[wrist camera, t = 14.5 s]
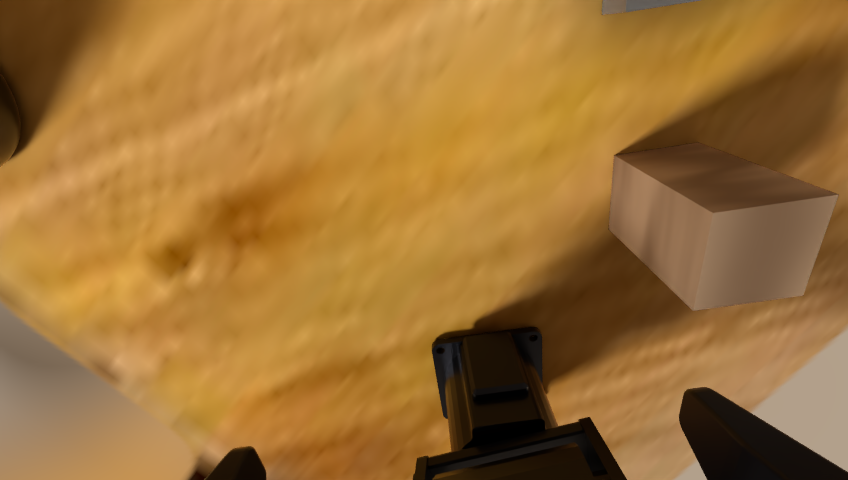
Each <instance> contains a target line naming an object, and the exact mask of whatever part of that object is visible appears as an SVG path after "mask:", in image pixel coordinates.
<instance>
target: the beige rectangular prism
mask: <svg viewBox="0 0 848 480" xmlns="http://www.w3.org/2000/svg"><path fill="white" fill-rule="evenodd" d="M838 196H839V195H838V194H836V193H833V192H830V191H828V190H825V189H822V188H820V187H817V186H814V185H812V184H809V183H806V182H803V181H801V180H798V179H795V178H793V177H790V176H787V175H785V174H782V173H779V172H776V171H774V170H771V169H768V168H766V167H763V166H760V165H758V164H755V163H752V162H750V161H747V160H744V159H741V158H739V157H736V156H733V155H731V154H728V153H725V152H723V151H720V150H717V149H714V148H712V147H709V146H706V145H704V144H701V143H691V144H685V145H678V146H672V147H665V148H658V149H652V150H645V151H639V152H632V153H626V154H619V155H614V163H613V176H612V190H611V203H610V217H609V230H610V231H611V232H612V233H613V234H614V235H615V236H616V237H617V238H618V239H619V240H620V241H621V242H622V243H623V244H624V245H625V246H626V247H627V248H628V249H630V250H631V251H632V252H633V253H634V254H635V255H636V256H637V257H638V258H639V259H640V260H641V261H642V262H643V263H644V264H645V265H646V266H647V267H648V268H649V269H650V270H651V271H652V272H653V273H654V274H655V275H656V276H657V277H658V278H660V279H661V280H662V281H663V282H664V283H665V284H666V285H667V286H668V287H669V288H670V289H671V290H672V291H673V292H674V293H675V294H676V295H677V296H678V297H679V298H680V299H681V300H682V301H683V302H684V303H685V304H686V305H687V306H688V307H690V308H691V309H692V310H693V311H696V310H703V309H711V308H718V307H725V306H732V305H739V304H747V303H754V302H761V301H768V300H775V299H783V298H790V297H797V296H803V294H804V291H805V289H806V286H807V283H808V280H809V277H810V275H811V272H812V269H813V266H814V263H815V260H816V258H817V255H818V252H819V249H820V246H821V244H822V241H823V238H824V235H825V232H826V229H827V227H828V224H829V221H830V218H831V215H832V213H833V210H834V207H835V204H836V201H837V199H838Z"/></svg>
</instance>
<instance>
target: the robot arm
mask: <svg viewBox="0 0 848 480" xmlns="http://www.w3.org/2000/svg"><path fill="white" fill-rule="evenodd" d="M531 335H535V336H533V337H530V336H531ZM440 347H441V348H443V349H438V348H440ZM432 354H433V360H434V365H435V371H436V377H437V383H438V388H439V394H440V400H441V405H442V411H443V416H444V417H445V418H446V419H448V423H449V433H450V442H451V452H449V453H445V454H440V455H436V456H432V457H428V456H423V457H419V458H417V462H416V470H415V474H414V475H413V480H627V479H626V477H625V476H624V474H623V472H622V470H621V469H620V467H619V465H618V464H617V462H616V460H615V459H614V457H613V455H612V454H611V452H610V450H609V449H608V447H607V445H606V444H605V442H604V440H603V439H602V437H601V435H600V433H599V432H598V430H597V428H596V427H595V425H594V423H593V422H592V420H591V418H590V417H587V418H583V419H579V420H578V421H579V422H575V423H571V424H566V425H562V426H558V425H557V422H556V419H555V417H554V414H553V412H552V409H551V406H550V404H549V401H548V399H547V396H546V393H545V391H544V388H543V386H542V335H541V333H540V331H539V329H538V328H536V327H528V328H521V329H514V330H506V331H499V332H492V333H484V334H477V335H470V336H462V337H455V338H448V339H440V340H436V341H435V342H433V344H432ZM679 421H680V425H681V428H682V430H683V432H684V434H685V436H686V438H687V440H688V442H689V444H690V446H691V448H692V450H693V452H694V454H695V456H696V458H697V460H698V462H699V464H700V466H701V468H702V470H703V472H704V474H705V476H706V478H707V480H848V472H847V471H845V470H843V469H842V468H840V467H839V466H837V465H835V464H834V463H832V462H830V461H829V460H827V459H825V458H824V457H822V456H821V455H819V454H817V453H815V452H814V451H812V450H811V449H809V448H807V447H806V446H804V445H802V444H801V443H799V442H798V441H796V440H794V439H793V438H791V437H789V436H788V435H786V434H784V433H783V432H781V431H779V430H778V429H776V428H775V427H773V426H771V425H770V424H768V423H766V422H765V421H763V420H761V419H760V418H758V417H757V416H755V415H753V414H752V413H750V412H748V411H747V410H745V409H743V408H742V407H740V406H738V405H737V404H735V403H734V402H732V401H730V400H729V399H727V398H725V397H724V396H722V395H720V394H719V393H717V392H716V391H714V390H712V389H710V388H707V387H700V388H693V389H687V390H686V391H685V392H684V395H683V400H682V404H681V409H680V414H679ZM204 480H266V470H265V468H264V466H263V464H262V462H261V460H260V458H259V456H258V454H257V452H256V450H255V449H254V448H253V447H251V446H247V447H239V448H234V449H232V450H231V451H230V452H229V453H228V454H227V455H226V456H225V457H224V458H223V459H222V460H221V461H220V463H219V464H218V465H217V466H216V467H215V468H214V469H213V470H212V472H211V473H210V474H209V475H208V476H207V477H206V478H205V479H204Z"/></svg>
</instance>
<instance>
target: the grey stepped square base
mask: <svg viewBox="0 0 848 480" xmlns="http://www.w3.org/2000/svg"><path fill="white" fill-rule="evenodd" d="M693 1H699V0H603V3H602V15H604V14H614V13H624V12H631V11H637V10H643V9H649V8H656V7H662V6H668V5H674V4H681V3H687V2H693Z"/></svg>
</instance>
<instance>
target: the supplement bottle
mask: <svg viewBox="0 0 848 480" xmlns="http://www.w3.org/2000/svg"><path fill="white" fill-rule="evenodd" d="M20 127H21V125H20V116H19V111H18V107H17V104H16V101H15V99H14V96H13V94H12V92H11V90H10V88H9V86H8V84H7V82H6V81H5V79H4V78H3V76H2V75H1V73H0V166H2V165H3V164H4V163H6V162H7V161H8V160H9V159H10V157H11V156H12V155H13V153H14V151H15V149H16V147H17V145H18V142H19V137H20Z"/></svg>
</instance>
